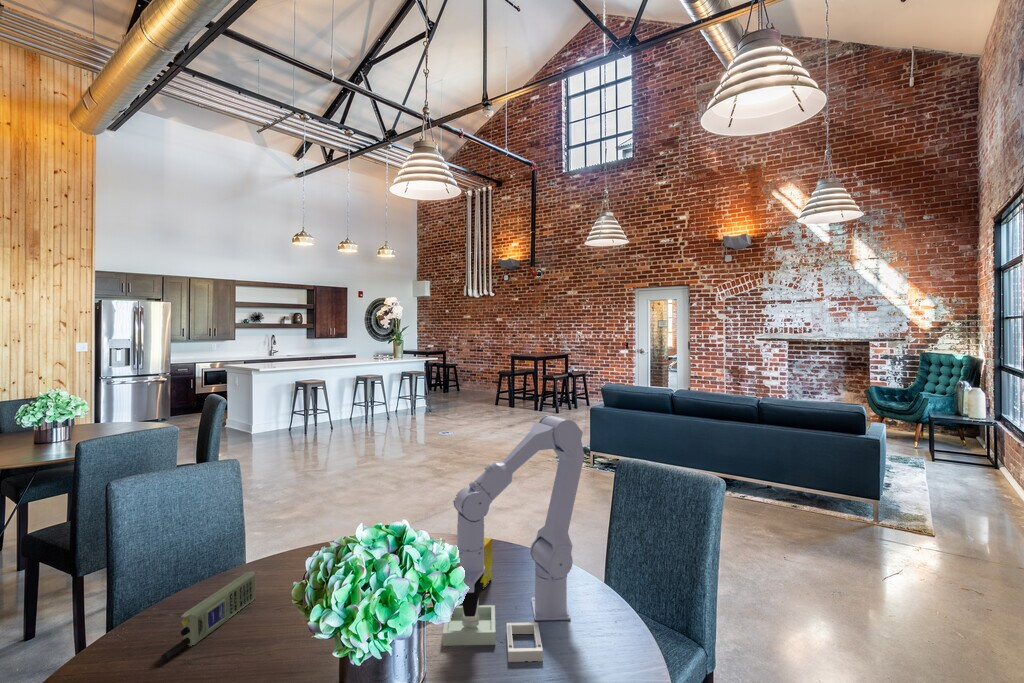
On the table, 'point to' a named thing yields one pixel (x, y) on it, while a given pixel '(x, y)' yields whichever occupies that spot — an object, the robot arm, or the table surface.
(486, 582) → the supplement box
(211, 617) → the handheld radio
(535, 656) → the holder
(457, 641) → the parts tray
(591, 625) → the table surface
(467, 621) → the cylinder
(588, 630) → the table surface
